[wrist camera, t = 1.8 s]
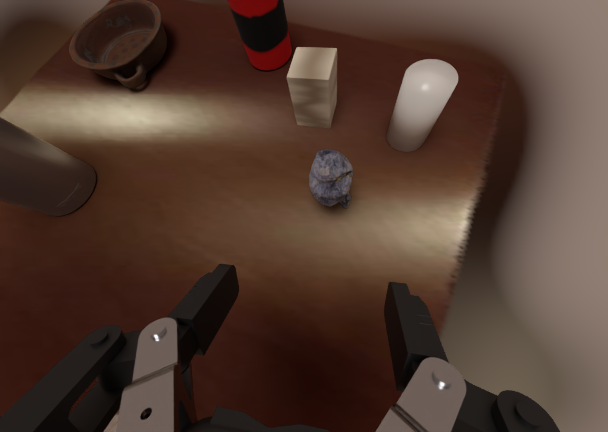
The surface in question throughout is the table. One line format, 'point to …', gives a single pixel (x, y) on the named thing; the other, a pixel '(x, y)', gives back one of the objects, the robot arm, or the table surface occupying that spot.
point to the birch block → (313, 85)
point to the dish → (121, 41)
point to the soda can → (263, 31)
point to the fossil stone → (331, 178)
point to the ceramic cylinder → (420, 103)
